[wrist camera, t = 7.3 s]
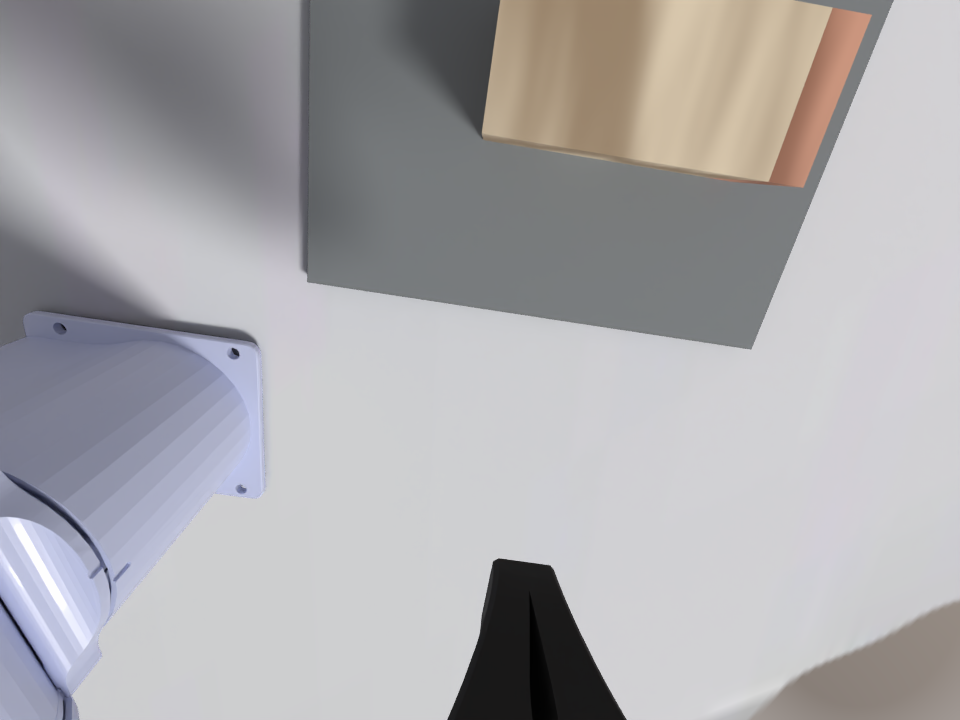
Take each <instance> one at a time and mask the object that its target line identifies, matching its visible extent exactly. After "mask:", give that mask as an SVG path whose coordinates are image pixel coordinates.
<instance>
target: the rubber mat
mask: <svg viewBox="0 0 960 720" xmlns="http://www.w3.org/2000/svg"><path fill="white" fill-rule="evenodd" d="M795 1H800V2H806V3H811V4H816V5H822V6H827V7H833V8H838V9H843V10H849V11H854V12H859V13H865V14H870V15H872V16H871V19H870V21H869V24H868V26H867V29H866V31H865V34H864V36H863V39H862V41H861V44H860V46H859V49H858V51H857V54H856V56H855V59H854V62H853V64H852V67H851V69H850V72H849V74H848V77H847V79H846V82H845V84H844V87H843V89H842V92H841V94H840V97H839V99H838V102H837V104H836V107H835V109H834V112H833V114H832V117H831V119H830V122H829V124H828V127H827V129H826V132H825V135H824V137H823V140H822V142H821V145H820V147H819V150H818V152H817V155H816V157H815V160H814V162H813V165H812V167H811V170H810V172H809V175H808V177H807V180H806V182H805V185H804V187H803V188H801V187H789V186H777V185H764V184H752V183H739V182H730V181H725V180H719V179H713V178H707V177H701V176H695V175H689V174H683V173H677V172H671V171H665V170H659V169H653V168H647V167H641V166H635V165H629V164H623V163H617V162H611V161H605V160H599V159H593V158H587V157H581V156H576V155H570V154H564V153H558V152H552V151H546V150H540V149H534V148H528V147H522V146H516V145H510V144H504V143H498V142H492V141H486V140H483V137H482V128H483V121H484V114H485V106H486V99H487V92H488V85H489V78H490V70H491V63H492V56H493V49H494V42H495V34H496V27H497V20H498V13H499V6H500V0H310V33H309V150H308V267H307V282H310V283H317V284H323V285H330V286H337V287H343V288H350V289H356V290H363V291H369V292H376V293H383V294H389V295H396V296H402V297H409V298H416V299H422V300H429V301H435V302H442V303H448V304H455V305H462V306H468V307H475V308H481V309H488V310H495V311H501V312H508V313H514V314H521V315H528V316H534V317H541V318H547V319H554V320H560V321H567V322H574V323H580V324H587V325H593V326H600V327H607V328H613V329H620V330H626V331H633V332H639V333H646V334H653V335H659V336H666V337H672V338H679V339H686V340H692V341H699V342H705V343H712V344H718V345H725V346H732V347H738V348H745V349H752V346H753V344H754V341H755V339H756V336H757V334H758V331H759V329H760V327H761V324H762V322H763V319H764V317H765V314H766V312H767V309H768V307H769V304H770V302H771V300H772V297H773V295H774V292H775V290H776V287H777V285H778V282H779V280H780V277H781V275H782V273H783V270H784V268H785V265H786V263H787V260H788V258H789V255H790V253H791V250H792V248H793V246H794V243H795V241H796V238H797V236H798V233H799V231H800V228H801V226H802V224H803V221H804V219H805V216H806V214H807V211H808V209H809V206H810V204H811V201H812V199H813V197H814V194H815V192H816V189H817V187H818V184H819V182H820V179H821V177H822V174H823V172H824V170H825V167H826V165H827V162H828V160H829V157H830V155H831V152H832V150H833V148H834V145H835V143H836V140H837V138H838V135H839V133H840V130H841V128H842V125H843V123H844V121H845V118H846V116H847V113H848V111H849V108H850V106H851V103H852V101H853V98H854V96H855V94H856V91H857V89H858V86H859V84H860V81H861V79H862V76H863V74H864V72H865V69H866V67H867V64H868V62H869V59H870V57H871V54H872V52H873V49H874V47H875V45H876V42H877V40H878V37H879V35H880V32H881V30H882V27H883V25H884V22H885V20H886V18H887V15H888V13H889V10H890V8H891V5H892V3H893V0H795Z"/></svg>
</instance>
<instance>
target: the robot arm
mask: <svg viewBox="0 0 960 720" xmlns="http://www.w3.org/2000/svg"><path fill="white" fill-rule="evenodd" d="M61 324H63V325H64V326H65V328H66V330H65V329H63V327H62V325H61ZM23 325H24V329H25V333H26V337H25V338H22V339H19V340H17V341H14V342H11V343H9V344H6V345H3V346H1V347H0V720H79V713H78V707H77V705H76V703H75V701H74V699H73V697H72V694H73V693H74V692H75V691H76V689H77V688H78V687H79V685H80V684H81V683H82V682H83V680H84V679H85V678H86V676H87V675H88V674H89V673H90V671H91V670H92V669H93V667H94V666H95V665H96V664H97V662H98V661H99V660H100V659H101V657H102V653H101V651H100V648H99V645H98V637H99V634H100V632H101V630H102V628H103V627H104V626H105V625H106V624H107V622H108V621H109V620H110V619H111V618H112V616H113V615H114V614H115V613H116V612H117V610H118V609H119V608H120V607H121V606H122V604H123V603H124V602H125V601H126V599H127V598H128V597H129V596H130V595H131V593H132V592H133V591H134V590H135V589H136V587H137V586H138V585H139V584H140V583H141V581H142V580H143V579H144V578H145V577H146V575H147V574H148V573H149V572H150V570H151V569H152V568H153V567H154V566H155V564H156V563H157V562H158V561H159V560H160V558H161V557H162V556H163V555H164V554H165V552H166V551H167V550H168V549H169V548H170V546H171V545H172V544H173V543H174V541H175V540H176V539H177V538H178V537H179V535H180V534H181V533H182V532H183V531H184V529H185V528H186V527H187V526H188V525H189V523H190V522H191V521H192V520H193V519H194V517H195V516H196V515H197V514H198V512H199V511H200V510H201V509H202V508H203V506H204V505H205V504H206V503H207V502H208V500H209V499H210V498H211V497H212V496H213V494H214V493H215V494H223V495H230V496H238V497H246V498H259V497H260V496H261V495H262V494H263V493H264V491H265V488H266V485H265V454H264V423H263V393H262V362H261V351H260V349H259V347H258V346H257V345H256V344H254V343H252V342H249V341H242V340H236V339H229V338H222V337H215V336H208V335H201V334H194V333H187V332H181V331H174V330H167V329H160V328H153V327H146V326H139V325H132V324H126V323H119V322H112V321H105V320H98V319H91V318H84V317H78V316H71V315H64V314H57V313H50V312H43V311H34V312H31V313H28V314H26V315H25V316H24V318H23ZM232 348H235V349H237V350H238V351H239V354H240V356H237V355H235V354H234V353H233V352H232ZM240 485H243V486H245V487H246V488H242V487H241V486H240ZM447 720H626V718H625V716H624V715H623V713H622V711H621V709H620V708H619V706H618V704H617V702H616V701H615V699H614V697H613V695H612V693H611V692H610V690H609V688H608V686H607V684H606V683H605V681H604V679H603V677H602V675H601V673H600V671H599V669H598V667H597V666H596V664H595V662H594V660H593V658H592V656H591V654H590V651H589V649H588V647H587V645H586V643H585V641H584V639H583V637H582V635H581V633H580V631H579V629H578V627H577V625H576V623H575V620H574V618H573V616H572V614H571V611H570V609H569V607H568V604H567V602H566V600H565V597H564V595H563V593H562V590H561V588H560V585H559V583H558V580H557V577H556V575H555V572H554V570H553V568H552V567H551V566H550V565H543V564H535V563H528V562H521V561H514V560H507V559H497V560H495V561H493V565H492V569H491V574H490V579H489V584H488V588H487V593H486V598H485V603H484V607H483V612H482V619H481V629H480V635H479V639H478V642H477V645H476V648H475V651H474V653H473V656H472V659H471V662H470V664H469V667H468V670H467V672H466V675H465V678H464V681H463V683H462V686H461V688H460V691H459V693H458V696H457V698H456V701H455V703H454V705H453V708H452V710H451V712H450V715H449V717H448V719H447Z"/></svg>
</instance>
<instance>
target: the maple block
mask: <svg viewBox="0 0 960 720" xmlns="http://www.w3.org/2000/svg"><path fill="white" fill-rule="evenodd" d="M871 16H872V15H870V14H865V13H859V12H854V11H849V10H843V9H838V8H833V7H827V6H822V5H816V4H811V3H806V2H800V1H795V0H500V6H499V13H498V20H497V27H496V34H495V42H494V49H493V56H492V63H491V70H490V78H489V85H488V92H487V99H486V106H485V114H484V121H483V128H482V137H483V140H486V141H492V142H498V143H504V144H510V145H516V146H522V147H528V148H534V149H540V150H546V151H552V152H558V153H564V154H570V155H576V156H581V157H587V158H593V159H599V160H605V161H611V162H617V163H623V164H629V165H635V166H641V167H647V168H653V169H659V170H665V171H671V172H677V173H683V174H689V175H695V176H701V177H707V178H713V179H719V180H725V181H730V182H739V183H752V184H764V185H777V186H789V187H801V188H803V187H804V185H805V182H806V180H807V177H808V175H809V172H810V170H811V167H812V165H813V162H814V160H815V157H816V155H817V152H818V150H819V147H820V145H821V142H822V140H823V137H824V135H825V132H826V129H827V127H828V124H829V122H830V119H831V117H832V114H833V112H834V109H835V107H836V104H837V102H838V99H839V97H840V94H841V92H842V89H843V87H844V84H845V82H846V79H847V77H848V74H849V72H850V69H851V67H852V64H853V62H854V59H855V56H856V54H857V51H858V49H859V46H860V44H861V41H862V39H863V36H864V34H865V31H866V29H867V26H868V24H869V21H870V19H871Z"/></svg>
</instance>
